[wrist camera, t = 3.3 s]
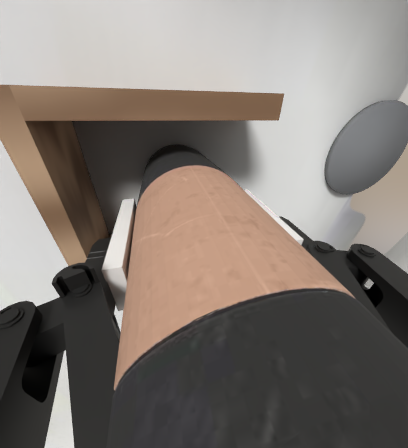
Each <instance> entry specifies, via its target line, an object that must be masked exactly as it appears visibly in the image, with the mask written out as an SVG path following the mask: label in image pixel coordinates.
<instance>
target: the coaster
mask: <svg viewBox="0 0 408 448" xmlns="http://www.w3.org/2000/svg"><path fill="white" fill-rule="evenodd" d="M407 143H408V106H407V105H406V104H405V103H403V102H400V101H381V102H377V103H375V104H372V105H370V106H368V107H366V108H365V109H363V110H362V111H360V112H359V113H358V114H356V115H355V116H354V117H353V118H352V119H351V120H350V121H349V122H348V123H347V124H346V125H345V126H344V128H343V129H342V130H341V132H340V133H339V134H338V136H337V137H336V139H335V141H334V142H333V144H332V146H331V148H330V151H329V153H328V156H327V159H326V164H325V178H326V181H327V184H328V185H329V186H330V187H331V188H332V189H333V190H335V191H337V192H339V193H342V194H355V193H358V192H361V191H363V190H365V189H367V188H369V187H370V186H372V185H374V184H375V183H376V182H378V181H379V180H380V179H381V178H382V177H383V176H385V175H386V174H387V172H388V171H389V170H390V169H391V168H392V167H393V166H394V164H395V163H396V162H397V160H398V159H399V158H400V156H401V154H402V153H403V151H404V149H405V147H406V145H407Z"/></svg>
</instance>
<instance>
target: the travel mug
mask: <svg viewBox="0 0 408 448" xmlns="http://www.w3.org/2000/svg"><path fill="white" fill-rule="evenodd" d="M114 390H115V393H114V395H113V398H112V406H111V414H110V422H109V430H108V438H107V446H106V448H408V348H407V347H406V346H405V345H404V344H403V343H402V342H401V341H400V340H399V339H398V338H397V337H396V336H395V335H394V334H393V333H392V332H391V331H390V330H389V329H388V328H386V327H385V326H384V325H383V324H382V323H381V322H380V321H379V320H378V319H377V318H376V317H375V316H374V315H373V314H372V313H371V312H370V311H369V310H368V309H367V308H366V307H365V306H364V305H363V304H362V303H361V302H359V301H358V300H356V299H355V297H354V296H353V295H352V294H351V293H350V292H349V291H348V290H347V289H346V288H345V287H344V286H343V285H342V284H341V283H340V282H339V281H338V280H337V279H336V278H335V277H333V276H332V275H331V274H330V273H329V272H328V271H327V270H326V269H325V268H324V267H323V266H322V265H321V264H320V263H319V262H318V261H317V260H316V259H315V258H314V257H313V256H312V255H311V254H310V253H309V252H308V251H306V250H305V249H304V248H303V247H302V246H301V245H300V244H299V243H298V242H297V241H296V240H295V239H294V238H293V237H292V236H291V235H290V234H289V233H288V232H287V231H286V230H285V229H284V228H283V227H282V226H281V225H279V224H278V223H277V222H276V221H275V220H274V219H273V218H272V217H271V216H270V215H269V214H268V213H267V212H266V211H265V210H264V209H263V208H262V207H261V206H260V205H259V204H258V203H257V202H256V201H255V200H254V199H252V198H251V197H250V196H249V195H248V194H247V193H246V192H245V191H244V190H243V189H242V188H241V187H240V186H239V185H238V184H237V183H236V182H235V181H234V180H233V179H232V178H230V177H229V176H228V175H227V174H226V173H224V172H223V171H222V170H221V169H219V168H218V167H217V166H216V165H214V164H213V163H212V162H211V161H209V160H208V159H207V158H206V157H205V156H203V155H202V154H201V153H199V152H198V151H196V150H195V149H193V148H191V147H188V146H185V145H171V146H167V147H164V148H162V149H160V150H159V151H157V152H156V153H155V154H154V155H153V156H152V157H151V158H150V160H149V162H148V164H147V166H146V169H145V172H144V176H143V181H142V185H141V190H140V194H139V199H138V203H137V208H136V215H135V223H134V231H133V239H132V247H131V255H130V263H129V271H128V279H127V287H126V295H125V303H124V311H123V319H122V327H121V335H120V343H119V350H118V358H117V366H116V374H115V382H114Z"/></svg>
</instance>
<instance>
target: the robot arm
mask: <svg viewBox="0 0 408 448" xmlns="http://www.w3.org/2000/svg"><path fill="white" fill-rule="evenodd" d="M244 191H245V192H246V193H247V194H248V195H249V196H250V197H251V198H252V199H254V200H255V201H256V202H257V203H258V204H259V205H260V206H261V207H262V208H263V209H264V210H265V211H266V212H267V213H268V214H269V215H270V216H271V217H272V218H273V219H274V220H275V221H276V222H277V223H278V224H279V225H281V226H282V227H283V228H284V229H285V230H286V231H287V232H288V233H289V234H290V235H291V236H292V237H293V238H294V239H295V240H296V241H297V242H298V243H299V244H300V245H301V246H302V247H303V248H304V249H305V250H306V251H308V252H309V253H310V254H311V255H312V256H313V257H314V258H315V259H316V260H317V261H318V262H319V263H320V264H321V265H322V266H323V267H324V268H325V269H326V270H327V271H328V272H329V273H330V274H331V275H332V276H333V277H335V278H336V279H337V280H338V281H339V282H340V283H341V284H342V285H343V286H344V287H345V288H346V289H347V290H348V291H349V292H350V293H351V294H352V295H353V296H354V297H355V299H356V300H358V301H359V302H361V303H362V304H363V305H364V306H365V307H366V308H367V309H368V310H369V311H370V312H371V313H372V314H373V315H374V316H375V317H376V318H377V319H378V320H379V321H380V322H381V323H382V324H383V325H384V326H385V327H386V328H388V329H389V330H390V331H391V332H392V333H393V334H394V335H395V336H396V337H397V338H398V339H399V340H400V341H401V342H402V343H403V344H404V345H405V346H406V347H407V348H408V274H407V273H406V272H405V271H403V270H402V269H401V268H399V267H398V266H397V265H396V264H394V263H393V262H392V261H390V260H389V259H388V258H386V257H385V256H384V255H382V254H381V253H380V252H378V251H377V250H375V249H374V248H371V247H369V246H367V245H363V244H354V245H352V246H351V247H350V249H349V251H340V250H336V249H335V248H334V247H332V246H331V245H329V244H327V243H324V242H320V241H313V240H311V239H310V238H309V237H308V236H307V235H306V234H304V233H303V232H302V231H301V230H300V229H298V228H297V227H296V226H295V225H294V224H293V223H291V222H290V221H289V220H287V219H285V218H283V217H278V216H277V215H276V214H275V213H273V212H272V211H271V210H270V209H269V208H268V207H267V206H266V205H264V204H263V203H262V202H261V201H260V200H259V199H258V198H257V197H255V196H254V195H253V194H252V193H251V192H250V191H249V190H248V189H245V190H244ZM135 215H136V204H135V199H125V200H123V201H122V204H121V207H120V211H119V214H118V217H117V220H116V224H115V227H114V230H113V234H112V237H111V238H104V239H98V240H97V241H96V242H95V243H94V244H93V245H92V247H91V249H90V252H89V254H88V256H87V259H86V261H85V263H77V264H73V265H70V266H68V267H66V268H64V269H63V270H61V271H60V272H59V273H57V275H56V276H55V277H54V278H53V281H52V285H53V286H54V288H55V289H56V291H57V292H58V294H59V296H60V297H59V298H57V299H55V300H52V301H50V302H47V303H44V304H42V305H39V306H37V307H36V306H35V305H34V304H33V302H29V301H23V302H18V303H15V304H13V305H10V306H8V307H6V308H5V309H3V310H1V311H0V448H44V446H45V441H46V437H47V432H48V427H49V422H50V417H51V412H52V407H53V402H54V397H55V392H56V387H57V383H58V378H59V373H60V368H61V363H62V358H63V353H64V351H65V350H66V356H67V367H68V379H69V390H70V401H71V413H72V424H73V435H74V447H75V448H106V446H107V438H108V430H109V422H110V414H111V406H112V398H113V395H114V393H115V390H114V382H115V374H116V366H117V358H118V350H119V343H120V335H121V332H120V329H119V326H118V323H117V320H116V317H115V315H114V310H115V304H116V307H117V309H118V311H120V310H124V303H125V295H126V287H127V279H128V271H129V263H130V255H131V247H132V239H133V231H134V223H135ZM368 279H371V280H372V281H373V282H374V284H373V285H372V287H371V288H370V289H368V288H366V287H365V286H364V284H365V283H366V281H367V280H368Z"/></svg>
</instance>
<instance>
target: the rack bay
mask: <svg viewBox="0 0 408 448" xmlns="http://www.w3.org/2000/svg"><path fill="white" fill-rule="evenodd" d="M283 97H284V94H277V93H246V92H214V91H182V90H150V89H118V88H87V87H55V86H23V85H0V140H1V141H2V143H3V145H4V147H5V149H6V151H7V153H8V154H9V156H10V158H11V160H12V162H13V164H14V166H15V167H16V169H17V171H18V173H19V175H20V177H21V179H22V180H23V182H24V184H25V186H26V188H27V190H28V192H29V193H30V195H31V197H32V199H33V201H34V203H35V205H36V206H37V208H38V210H39V212H40V214H41V216H42V218H43V219H44V221H45V223H46V225H47V227H48V229H49V231H50V232H51V234H52V236H53V238H54V240H55V242H56V244H57V245H58V247H59V249H60V251H61V253H62V255H63V256H64V258H65V260H66V262H67V264H68V266H70V265H73V264H77V263H85V261H86V259H87V256H88V254H89V252H90V249H91V247H92V245H93V244H94V243H95V242H96V241H97V240H98V239H104V238H111V237H112V234H109V233H108V230H107V227H106V224H105V221H104V217H103V214H102V211H101V208H100V205H99V202H98V199H97V196H96V193H95V190H94V187H93V184H92V181H91V178H90V175H89V172H88V169H87V166H86V163H85V160H84V157H83V154H82V151H81V148H80V145H79V142H78V139H77V136H76V133H75V130H74V126H73V123H72V121H153V120H279V117H280V112H281V107H282V102H283Z"/></svg>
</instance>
